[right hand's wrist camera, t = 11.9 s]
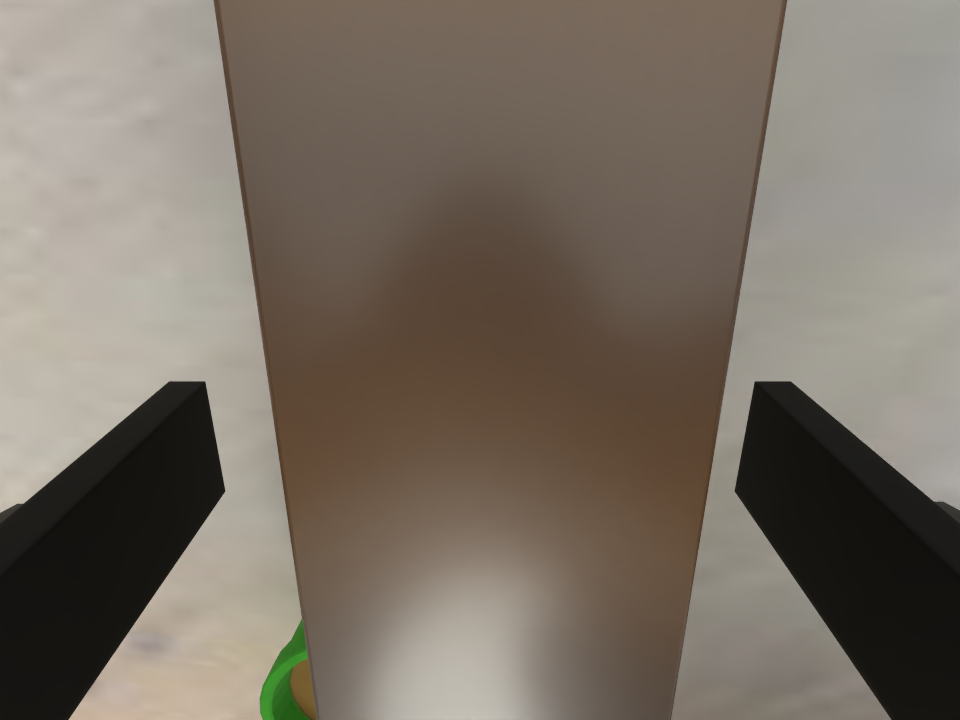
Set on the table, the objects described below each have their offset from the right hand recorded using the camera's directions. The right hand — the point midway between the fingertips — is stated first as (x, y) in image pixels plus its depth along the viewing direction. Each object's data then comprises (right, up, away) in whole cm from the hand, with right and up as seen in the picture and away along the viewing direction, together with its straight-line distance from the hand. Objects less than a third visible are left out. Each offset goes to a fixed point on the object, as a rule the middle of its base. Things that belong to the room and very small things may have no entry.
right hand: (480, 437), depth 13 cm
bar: (0, +10, -1) cm, 10 cm away
